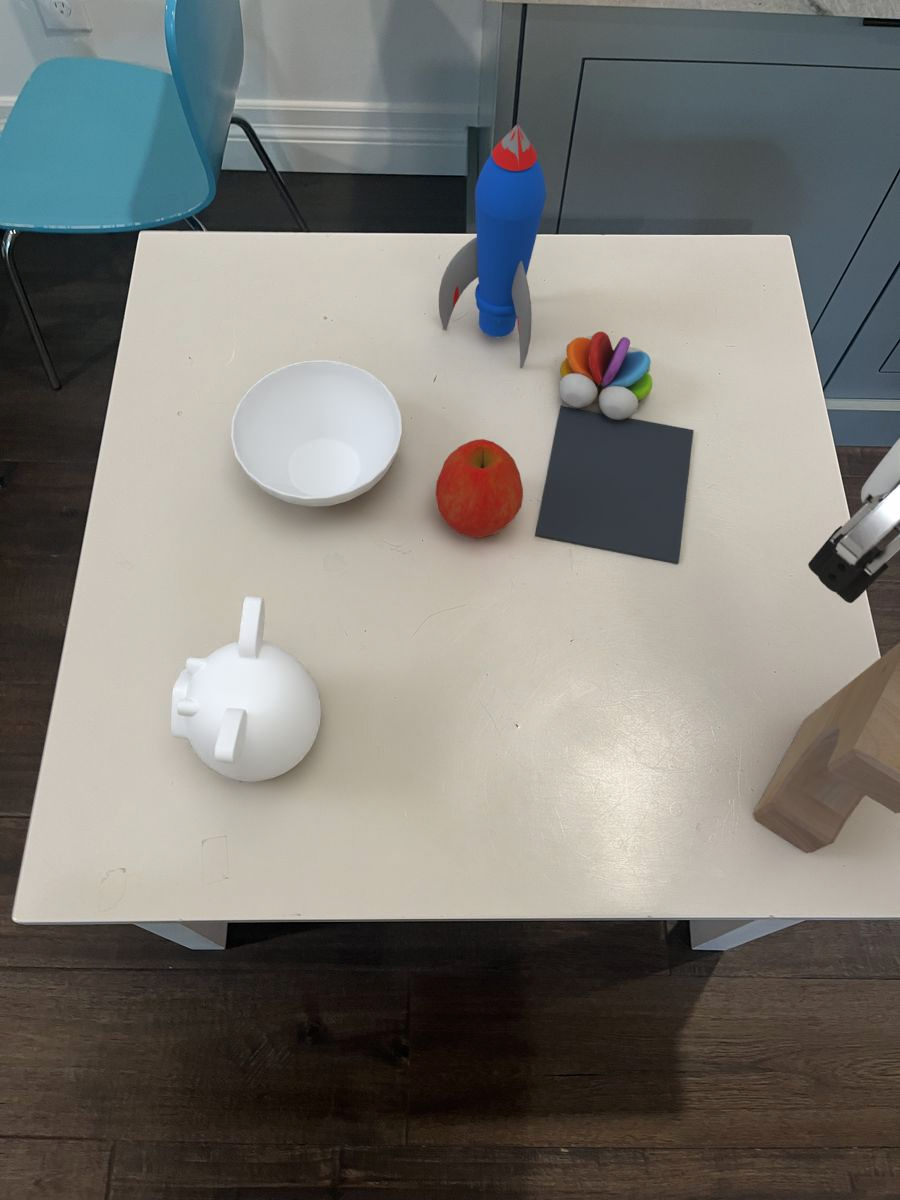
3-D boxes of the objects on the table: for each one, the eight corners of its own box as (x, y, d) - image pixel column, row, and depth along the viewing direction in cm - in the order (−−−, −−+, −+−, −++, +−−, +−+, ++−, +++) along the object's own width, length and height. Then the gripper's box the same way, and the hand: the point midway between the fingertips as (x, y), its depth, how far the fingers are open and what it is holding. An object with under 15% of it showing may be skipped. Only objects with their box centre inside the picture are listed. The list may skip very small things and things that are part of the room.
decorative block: (808, 857, 73) (934, 802, 55) (747, 816, 74) (850, 749, 56) (864, 753, 77) (999, 670, 59) (806, 715, 78) (919, 623, 60)
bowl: (212, 460, 88) (196, 417, 82) (338, 380, 93) (332, 333, 87) (308, 567, 83) (299, 530, 77) (436, 477, 88) (437, 435, 82)
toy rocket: (526, 373, 94) (558, 169, 72) (437, 371, 94) (441, 166, 71) (523, 298, 99) (553, 84, 76) (438, 295, 99) (442, 80, 76)
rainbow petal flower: (570, 350, 96) (581, 298, 89) (656, 376, 94) (673, 325, 88) (546, 405, 92) (556, 355, 85) (635, 433, 90) (652, 384, 84)
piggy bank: (184, 684, 78) (133, 613, 64) (315, 657, 79) (292, 582, 66) (199, 821, 73) (147, 775, 59) (338, 790, 74) (319, 739, 61)
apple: (534, 528, 86) (548, 465, 76) (463, 566, 84) (468, 507, 74) (488, 468, 89) (496, 400, 79) (419, 504, 87) (418, 439, 77)
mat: (692, 432, 91) (693, 429, 91) (677, 564, 84) (679, 562, 84) (560, 407, 92) (560, 405, 92) (534, 536, 85) (535, 534, 85)
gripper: (1035, 499, 32) (839, 669, 47) (1272, 282, 37) (1025, 500, 52) (872, 372, 35) (736, 574, 50) (1115, 185, 40) (924, 420, 55)
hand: (885, 536), depth 51 cm, fingers open, 9 cm apart
